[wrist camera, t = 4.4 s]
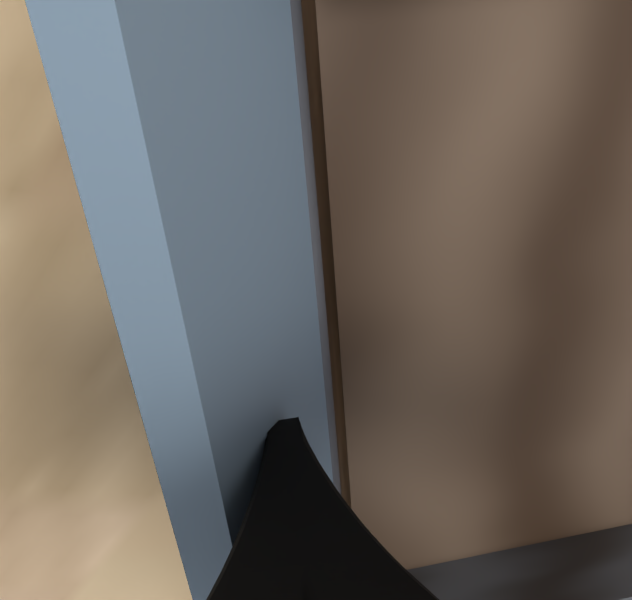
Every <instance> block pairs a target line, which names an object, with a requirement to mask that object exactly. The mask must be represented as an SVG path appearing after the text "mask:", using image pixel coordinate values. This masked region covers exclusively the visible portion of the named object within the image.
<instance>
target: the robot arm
mask: <svg viewBox="0 0 632 600" xmlns="http://www.w3.org/2000/svg"><path fill="white" fill-rule="evenodd" d="M206 600H439V599H438V598H437V597H436V596H435V595H434V594H433V593H431V592H430V591H429V590H428V589H427V588H426V587H425V586H424V585H423V584H422V583H420V582H419V581H418V580H417V579H416V578H415V577H414V576H413V575H412V574H411V573H409V572H408V571H407V570H406V569H405V568H404V567H403V566H402V565H401V564H400V563H399V562H398V561H397V560H396V559H395V558H394V557H393V556H392V555H391V554H390V553H389V552H388V551H387V550H386V549H385V548H384V547H383V546H382V544H381V543H380V542H379V541H378V540H377V539H376V538H375V537H374V536H373V535H372V533H371V532H370V531H369V530H368V529H367V528H366V526H365V525H364V524H363V523H362V522H361V520H360V519H359V518H358V517H357V516H356V514H355V513H354V512H353V510H352V509H351V508H350V506H349V505H348V504H347V503H346V501H345V500H344V499H343V497H342V496H341V494H340V493H339V492H338V490H337V489H336V487H335V486H334V484H333V483H332V481H331V480H330V478H329V477H328V475H327V474H326V472H325V471H324V469H323V468H322V466H321V464H320V463H319V461H318V459H317V458H316V456H315V454H314V452H313V450H312V448H311V447H310V445H309V443H308V441H307V439H306V436H305V434H304V432H303V429H302V426H301V423H300V421H299V417H295V418H289V419H282V420H278V421H277V422H276V424H275V425H274V426H273V427H272V428H271V429H270V430H269V431H268V432H267V437H266V439H265V445H264V451H263V456H262V460H261V465H260V469H259V472H258V476H257V479H256V483H255V486H254V490H253V493H252V496H251V500H250V502H249V505H248V508H247V511H246V513H245V516H244V519H243V522H242V524H241V527H240V530H239V532H238V535H237V537H236V539H235V542H234V544H233V547H232V549H231V551H230V553H229V555H228V558H227V560H226V562H225V564H224V566H223V568H222V570H221V572H220V574H219V576H218V578H217V580H216V582H215V584H214V586H213V588H212V590H211V592H210V594H209V595H208V597H207V599H206Z"/></svg>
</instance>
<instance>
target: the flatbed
mask: <svg viewBox="0 0 632 600" xmlns="http://www.w3.org/2000/svg"><path fill="white" fill-rule="evenodd" d="M301 7H302V19H303V31H304V44H305V56H306V68H307V80H308V93H309V105H310V117H311V129H312V142H313V154H314V166H315V178H316V191H317V203H318V215H319V227H320V240H321V252H322V264H323V277H324V289H325V301H326V313H327V326H328V338H329V350H330V362H331V375H332V387H333V399H334V411H335V424H336V436H337V448H338V460H339V473H340V485H341V496H342V497H343V499H344V500H345V501H346V503H347V504H348V505H349V506H350V508H351V509H352V510H353V512H354V513H355V514H356V516H357V517H358V518H359V519H360V520H361V522H362V523H363V524H364V525H365V526H366V528H367V529H368V530H369V531H370V532H371V533H372V535H373V536H374V537H375V538H376V539H377V540H378V541H379V542H380V543H381V544H382V546H383V547H384V548H385V549H386V550H387V551H388V552H389V553H390V554H391V555H392V556H393V557H394V558H395V559H396V560H397V561H398V562H399V563H400V564H401V565H402V566H403V567H404V568H405V569H406V570H407V571H408V572H409V573H411V574H412V575H413V576H414V577H415V578H416V579H417V580H418V581H419V582H420V583H422V584H423V585H424V586H425V587H426V588H427V589H428V590H429V591H430V592H431V593H433V594H434V595H435V596H436V597H437V598H438V599H439V600H632V0H301Z"/></svg>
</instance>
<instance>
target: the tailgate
mask: <svg viewBox="0 0 632 600" xmlns="http://www.w3.org/2000/svg"><path fill="white" fill-rule="evenodd" d="M25 2H26V6H27V10H28V13H29V17H30V20H31V24H32V27H33V31H34V34H35V38H36V42H37V45H38V49H39V52H40V56H41V59H42V63H43V67H44V70H45V74H46V77H47V81H48V84H49V88H50V92H51V95H52V99H53V102H54V106H55V109H56V113H57V117H58V120H59V124H60V127H61V131H62V134H63V138H64V142H65V145H66V149H67V152H68V156H69V159H70V163H71V167H72V170H73V174H74V177H75V181H76V184H77V188H78V192H79V195H80V199H81V202H82V206H83V209H84V213H85V217H86V220H87V224H88V227H89V231H90V234H91V238H92V242H93V245H94V249H95V252H96V256H97V259H98V263H99V267H100V270H101V274H102V277H103V281H104V284H105V288H106V291H107V295H108V299H109V302H110V306H111V309H112V313H113V316H114V320H115V324H116V327H117V331H118V334H119V338H120V341H121V345H122V349H123V352H124V356H125V359H126V363H127V366H128V370H129V374H130V377H131V381H132V384H133V388H134V391H135V395H136V399H137V402H138V406H139V409H140V413H141V416H142V420H143V424H144V427H145V431H146V434H147V438H148V441H149V445H150V449H151V452H152V456H153V459H154V463H155V466H156V470H157V474H158V477H159V481H160V484H161V488H162V491H163V495H164V499H165V502H166V506H167V509H168V513H169V516H170V520H171V524H172V527H173V531H174V534H175V538H176V541H177V545H178V548H179V552H180V556H181V559H182V563H183V566H184V570H185V573H186V577H187V581H188V584H189V588H190V591H191V595H192V598H193V600H206V599H207V597H208V595H209V594H210V592H211V590H212V588H213V586H214V584H215V582H216V580H217V578H218V576H219V574H220V572H221V570H222V568H223V566H224V564H225V562H226V560H227V558H228V555H229V553H230V551H231V549H232V547H233V544H234V542H235V539H236V537H237V535H238V532H239V530H240V527H241V524H242V522H243V519H244V516H245V513H246V511H247V508H248V505H249V502H250V500H251V496H252V493H253V490H254V486H255V483H256V479H257V476H258V472H259V469H260V465H261V460H262V456H263V451H264V445H265V439H266V437H267V432H268V431H269V430H270V429H271V428H272V427H273V426H274V425H275V424H276V422H277V421H278V420H282V419H289V418H295V417H299V421H300V423H301V426H302V429H303V432H304V434H305V436H306V439H307V441H308V443H309V445H310V447H311V448H312V450H313V452H314V454H315V456H316V458H317V459H318V461H319V463H320V464H321V466H322V468H323V469H324V471H325V472H326V474H327V475H328V477H329V478H330V480H331V481H332V483H333V484H334V486H335V487H336V489H337V490H338V492H339V493H340V494H341V485H340V473H339V460H338V448H337V436H336V424H335V411H334V399H333V387H332V375H331V362H330V350H329V338H328V326H327V313H326V301H325V289H324V277H323V264H322V252H321V240H320V227H319V215H318V203H317V191H316V178H315V166H314V154H313V142H312V129H311V117H310V105H309V93H308V80H307V68H306V56H305V44H304V31H303V19H302V7H301V0H25Z"/></svg>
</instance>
